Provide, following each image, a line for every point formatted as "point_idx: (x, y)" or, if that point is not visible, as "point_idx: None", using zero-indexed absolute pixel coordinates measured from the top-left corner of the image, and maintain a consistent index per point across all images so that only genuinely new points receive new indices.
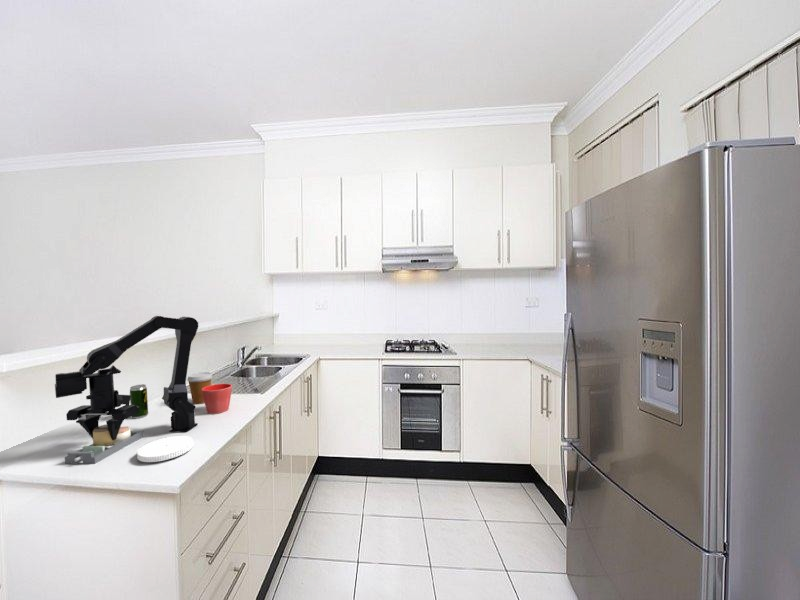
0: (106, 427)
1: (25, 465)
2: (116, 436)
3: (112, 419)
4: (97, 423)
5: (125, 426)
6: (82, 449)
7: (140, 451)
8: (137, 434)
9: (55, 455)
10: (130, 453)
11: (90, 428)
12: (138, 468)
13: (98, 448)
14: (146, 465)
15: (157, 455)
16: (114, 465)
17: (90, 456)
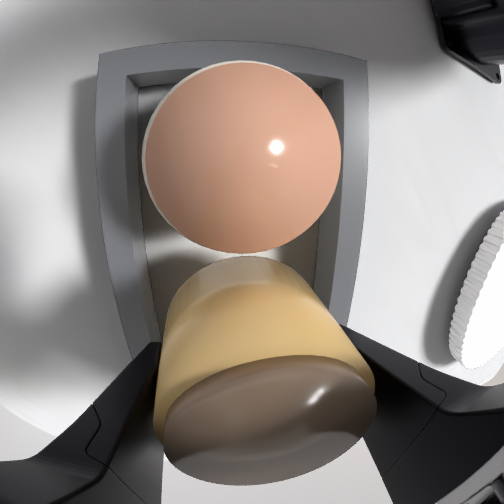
0: (314, 445)
1: (34, 410)
2: (352, 335)
3: (443, 497)
4: (117, 459)
5: (242, 65)
6: None
7: (468, 351)
8: (368, 125)
9: (23, 352)
10: (407, 310)
11: (156, 482)
12: (452, 371)
13: None
14: None
15: (497, 350)
16: None
17: None
